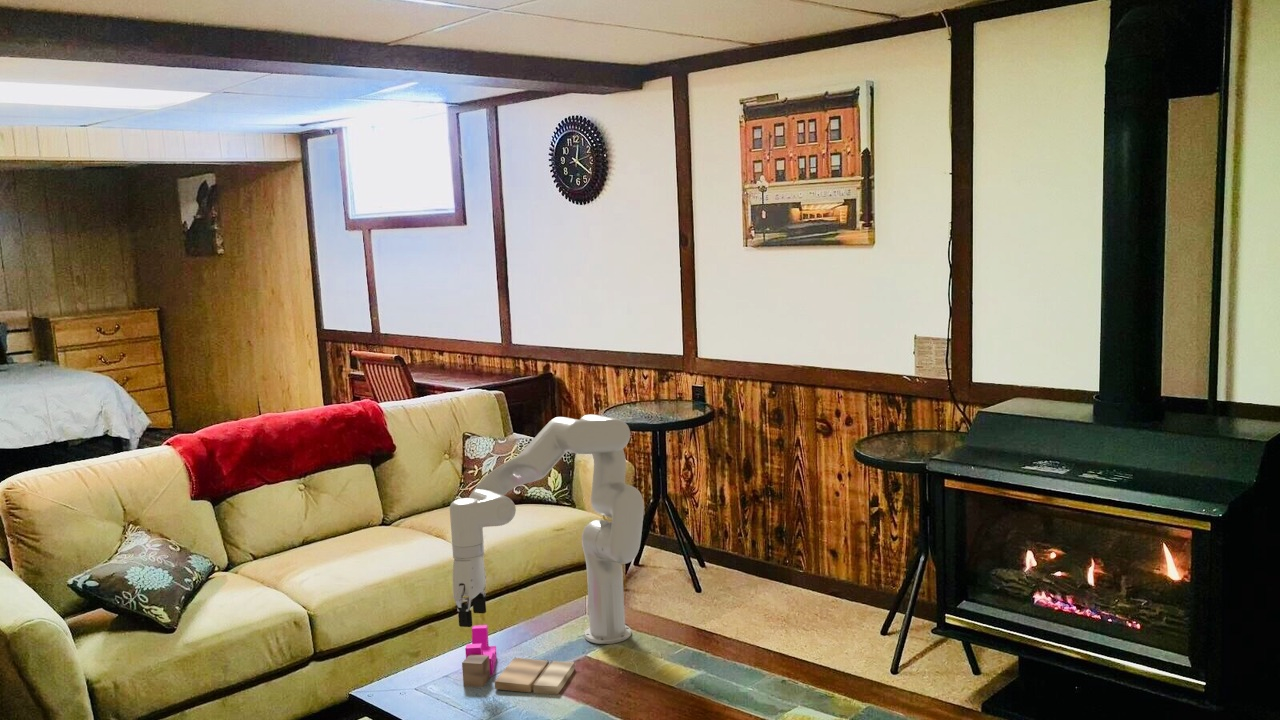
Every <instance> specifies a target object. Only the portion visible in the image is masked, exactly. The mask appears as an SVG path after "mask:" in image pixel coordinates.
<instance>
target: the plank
mask: <svg viewBox="0 0 1280 720" xmlns="http://www.w3.org/2000/svg"><path fill="white" fill-rule="evenodd" d="M549 663H550V660H543V659H542V660H541V659H533V658H523V657H522V658H521V657H513V659H512V661H510V663H509V664H508V665H507V666H506V667H505V668H504V670H503V671H502V672H501V673H500V675H499V676H498V677H497V678H496V679H495V681H494V689H495V690H502V691H512V692H521V693H532V691H534V690H533V684H534V683H535V682H536V680H537V679H538V678H539V676H540V675H541V674H542V672H543V671H544V670H545V668H546V667H547V666H548V664H549Z"/></svg>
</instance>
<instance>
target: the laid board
mask: <svg viewBox="0 0 1280 720" xmlns="http://www.w3.org/2000/svg"><path fill="white" fill-rule="evenodd" d="M575 668H576V667H575V662H574V661H560V660H559V661H557V660H551V661H549V664H548V666H547V667H546V668H545V670H544V671H543V672H542V674H541V675H540V676H539V678H538V679H537V680H536V682H535V683H534V684H533V690H532V691H533V694H538V695H539V694H540V695H541V694H542V695H543V694H544V695H556V696H557V695H559V694H560V692H561V690H563V688H564V686H565V685H566V683H567V682H568V680H569V678H570V677H571V676H572V674H573V673H574V671H575Z"/></svg>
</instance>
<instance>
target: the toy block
mask: <svg viewBox="0 0 1280 720" xmlns="http://www.w3.org/2000/svg"><path fill="white" fill-rule="evenodd" d="M471 627H472V628H471V643H466V645H465V647H464V649H465V659H466V658H467V657H468V656H469V655H470V654H472V655H489V665H490V676H493V674H494V670H495V667H496V666H495V665H496V662H497V645H491V646H490V645H489V630H488V629H489V627H488V624H480V625H472V626H471Z"/></svg>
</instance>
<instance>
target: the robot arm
mask: <svg viewBox="0 0 1280 720" xmlns="http://www.w3.org/2000/svg"><path fill="white" fill-rule="evenodd" d="M630 439H631V429H630V427H629V425H628V424H627V423H626V422H625V421H624V420H622V419H619V418H615V417H610V416H606V415H601V414H593V413H590V414H585V415H582V416H581V417H580V419H576V418H572V417H567V416H556V417H554V418H552V419H551V420H549V421H548V423H547V424H545V426H543V428H542V429H541V430H540V431H539V432H538V433H537V434H536V436H535V437H533V439H531V441H530V442H529V443H528V444H527V445H526V446H525V447H524V449H523V450H522V451H520V453H519V454H518V455H517V456H515V457H512V458H511V459H509V460H508V461H505V462H504V463H502V464H501V465H499V466H497V467H496V468H495V469H493V470H492V471H490V472H489V473H488V474H487V475H486V476H485V477H484V478H483V479H482V480H480V482H479V483H478V484H477V485H476V486H475V488H474V489H473V490H472V491H471V493H470V495H469V497H464V498H463V497H461V498H458V499H455V500H453V501H452V502H451V503H450V505H449V518H450V531H451V532H450V535H451V547H452V548H451V549H452V559H453V565H452V595H453V600H454V602H455V605H456V609H457V613H458V614H457V615H458V626H459V627H460V628H471V627H473V614H483V615H484V614H486V613H487V605H486V603H487V602H486V593H487V592H486V590H485V589H486V584H487V581H486V580H487V576H486V569H485V568H486V566H485V561H484V556H485V545H484V543H485V542H484V531H483V530H484V528H489V527H491V528H492V527H502V526H504V525H507V524H509V523H510V522H511V521H512V520H513V519H514V517H515V515H516V511H517V510H516V509H517V507H516V504H515V503H514V501H513V500H512V498H510V497H508V496H506V495H507V493H509V492H510V491H512V490H513V489H515V488H517V487H519V486H521V485H524V484H529V483H533V482H536V481H540V480H542V479H544V478H545V477H546V476H547V475H548V474H549V472H551V470H552V469H553V468H554V466H556V464H557V463H558V462H559V461H560V460H561V459H562V458H563V457H564V455H565V454H566V453H567V452H568V453H572V454H577V455H592V459H593V474H592V484H591V495H590V504H591V508H592V510H593V511H594V512H595V513H597V514H599V515H602V516H604V517H607V518H609V519H611V521H609V520H607V519H601V518H600V519H593V520H591V521H590V522H588V523H587V524H586V525H585V526H584V527H583V530H582V533H581V547H582V550H583V551H582V552H583V554H584V560H585V565H586V577H587V581H586V582H587V583H586V584H587V598H588V599H587V600H588V601H587V602H588V618H589V620H588V621H589V627H588V628H586V629H585V630H584V631H583V633H584V635H583V636H584V639H585V640H587V642H590V643H593V644H597V645H598V644H599V645H611V644H617V643H621V642H623V641H626V640H628V639H629V638H630V637H631V635H632V629H631V627H630V626H628V625H627V624H626V621H625V620H626V615H625V614H626V613H625V597H624V576H623V575H624V574H623V565H624V564H625V565H626V564H629V563H631V562H632V561H634V559H635V558H636V557H637V555H638V553H639V550H640V547H641V541H642V532H643V522H644V512H645V502H644V499H643V495H642V494H641V492H640V490H639V489H637V488H636V487H635V486H633V485H631V484H626V469H627V468H626V465H627V464H626V463H627V462H626V454H625V451H624V448H626V447H627V445H628V443H629V442H630ZM465 602H466V603H465ZM471 606H472V609H473V610H471ZM472 612H473V614H472Z"/></svg>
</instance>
